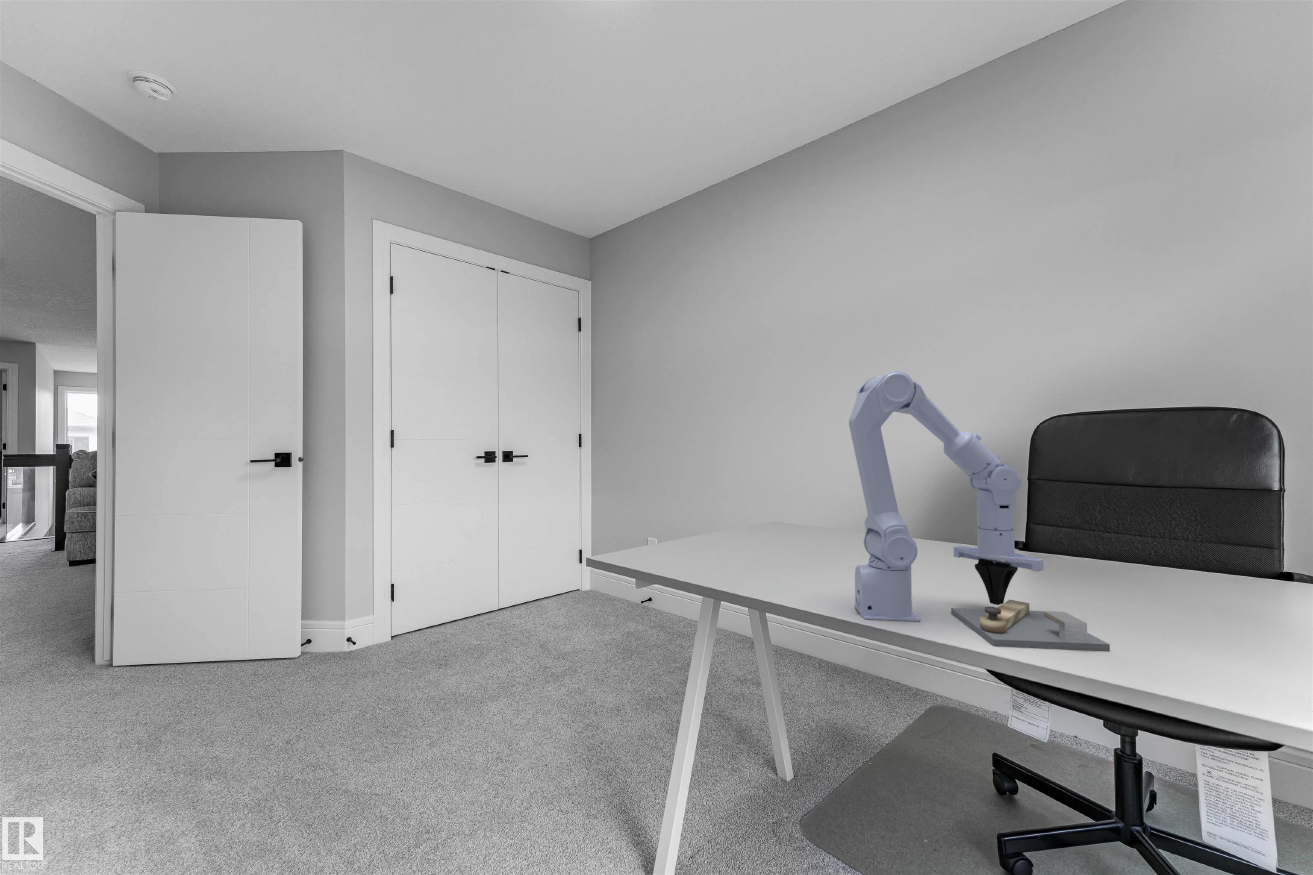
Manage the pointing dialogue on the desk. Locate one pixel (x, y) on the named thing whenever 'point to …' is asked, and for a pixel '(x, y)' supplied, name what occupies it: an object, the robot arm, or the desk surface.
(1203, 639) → the desk surface
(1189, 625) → the desk surface
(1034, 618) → the base plate
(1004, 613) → the tan latch lever
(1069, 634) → the keeper
